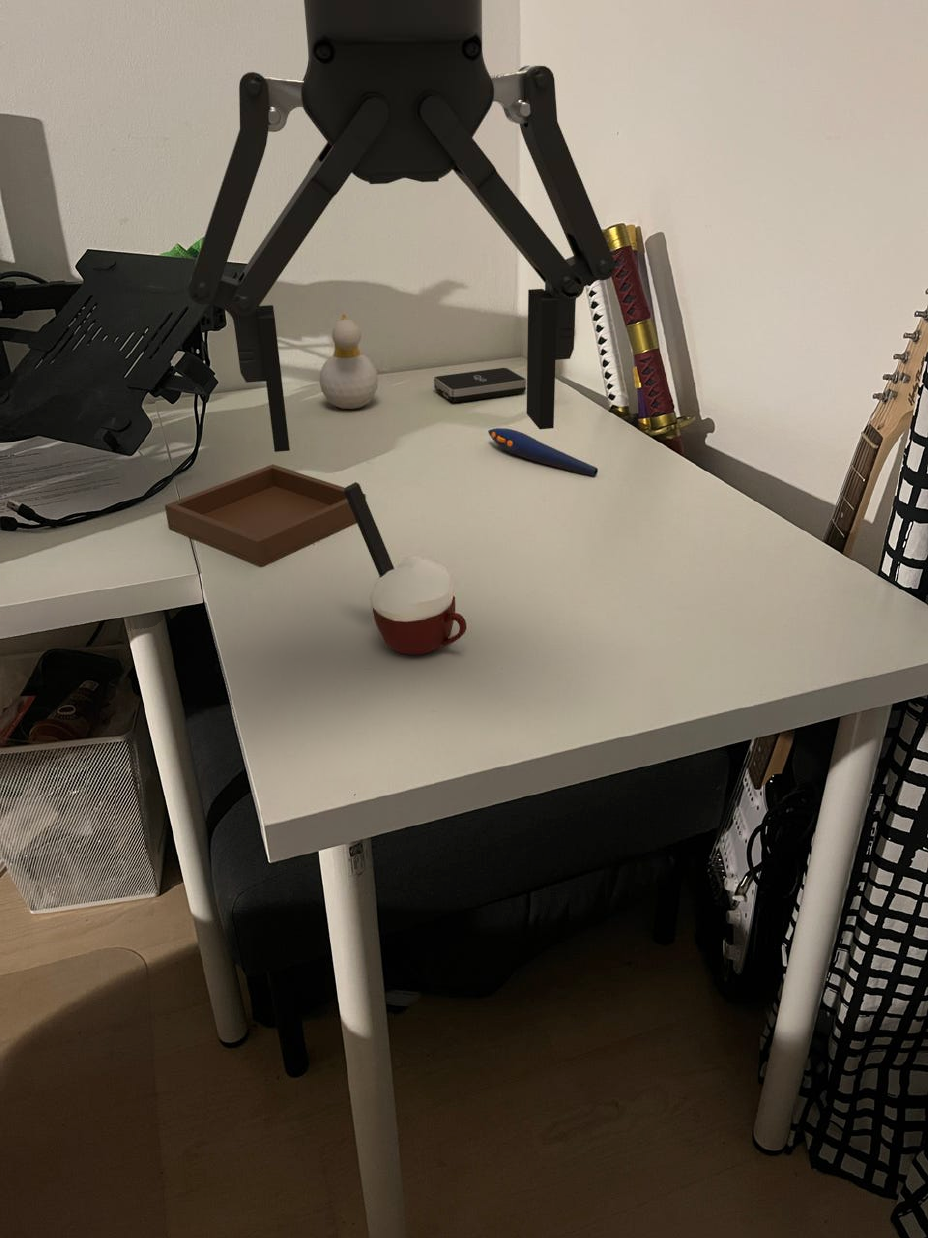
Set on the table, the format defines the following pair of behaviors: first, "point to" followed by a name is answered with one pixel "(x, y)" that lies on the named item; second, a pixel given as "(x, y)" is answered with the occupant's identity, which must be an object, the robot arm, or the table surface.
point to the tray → (263, 514)
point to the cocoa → (407, 592)
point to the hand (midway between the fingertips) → (413, 432)
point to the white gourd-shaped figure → (348, 369)
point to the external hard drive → (480, 384)
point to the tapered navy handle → (538, 451)
